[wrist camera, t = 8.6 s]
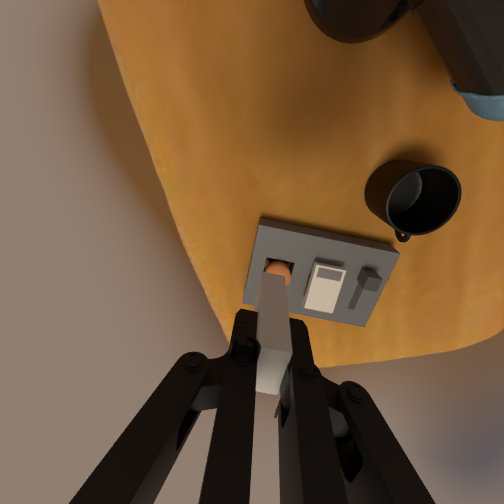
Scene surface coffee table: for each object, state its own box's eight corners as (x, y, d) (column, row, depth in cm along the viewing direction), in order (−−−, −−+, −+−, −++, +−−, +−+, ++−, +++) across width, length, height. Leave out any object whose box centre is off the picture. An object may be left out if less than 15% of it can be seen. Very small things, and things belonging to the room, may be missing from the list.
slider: (362, 268, 43) (368, 276, 41) (375, 270, 43) (382, 279, 41) (357, 279, 44) (362, 289, 42) (370, 282, 44) (376, 292, 42)
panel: (259, 217, 45) (258, 226, 41) (390, 244, 46) (403, 256, 41) (244, 291, 52) (241, 306, 47) (358, 314, 53) (366, 331, 48)
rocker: (314, 261, 43) (316, 264, 41) (343, 267, 43) (346, 270, 41) (302, 303, 45) (304, 308, 44) (330, 309, 45) (332, 313, 44)
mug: (360, 233, 45) (380, 254, 37) (366, 162, 41) (390, 169, 32) (416, 229, 44) (449, 250, 36) (428, 156, 40) (470, 161, 31)
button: (268, 250, 48) (267, 264, 42) (291, 255, 48) (293, 270, 42) (263, 270, 49) (262, 286, 44) (285, 275, 49) (287, 291, 44)
